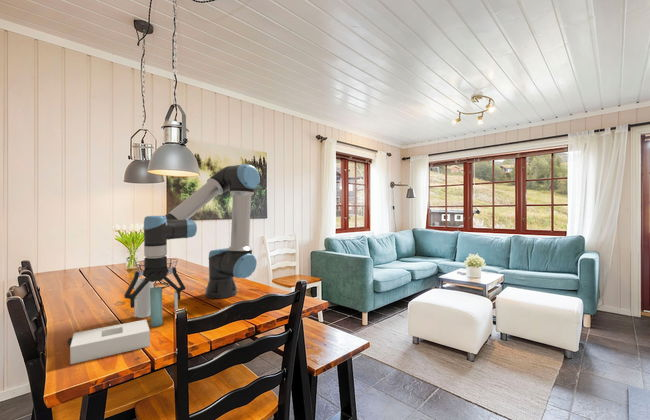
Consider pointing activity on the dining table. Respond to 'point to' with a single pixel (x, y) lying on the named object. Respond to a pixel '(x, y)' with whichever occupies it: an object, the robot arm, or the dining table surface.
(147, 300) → the drinking glass
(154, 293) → the teal peg
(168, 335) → the dining table surface
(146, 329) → the socket block
